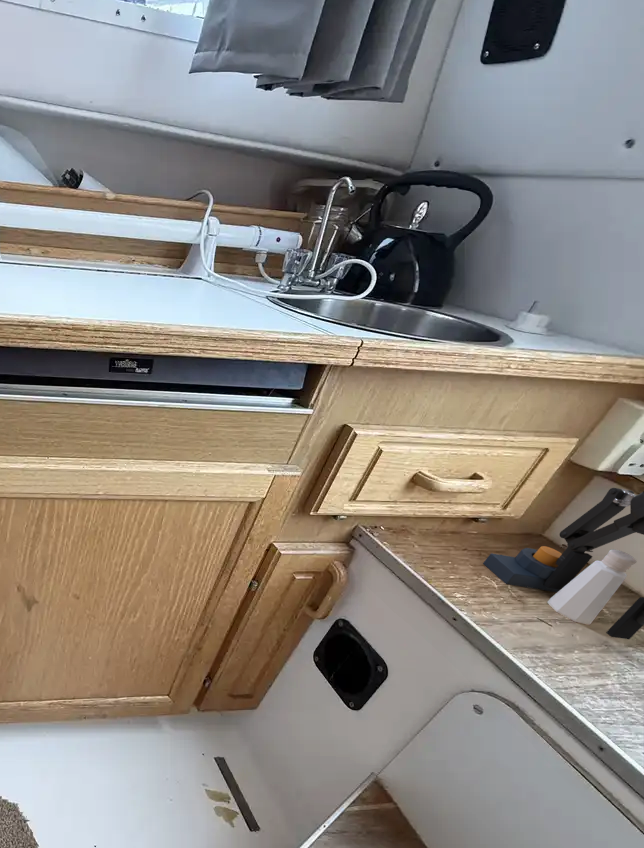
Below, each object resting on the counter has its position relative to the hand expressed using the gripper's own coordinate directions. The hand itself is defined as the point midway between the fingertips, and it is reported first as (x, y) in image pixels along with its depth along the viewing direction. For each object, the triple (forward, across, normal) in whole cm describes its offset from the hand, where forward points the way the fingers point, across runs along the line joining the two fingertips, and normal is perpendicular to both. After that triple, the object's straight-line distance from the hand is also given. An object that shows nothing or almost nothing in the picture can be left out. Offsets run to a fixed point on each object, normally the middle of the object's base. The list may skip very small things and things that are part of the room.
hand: (583, 610), depth 80 cm
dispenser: (+1, -8, 0) cm, 9 cm away
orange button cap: (-2, -8, 0) cm, 9 cm away
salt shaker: (+2, -1, 0) cm, 2 cm away
